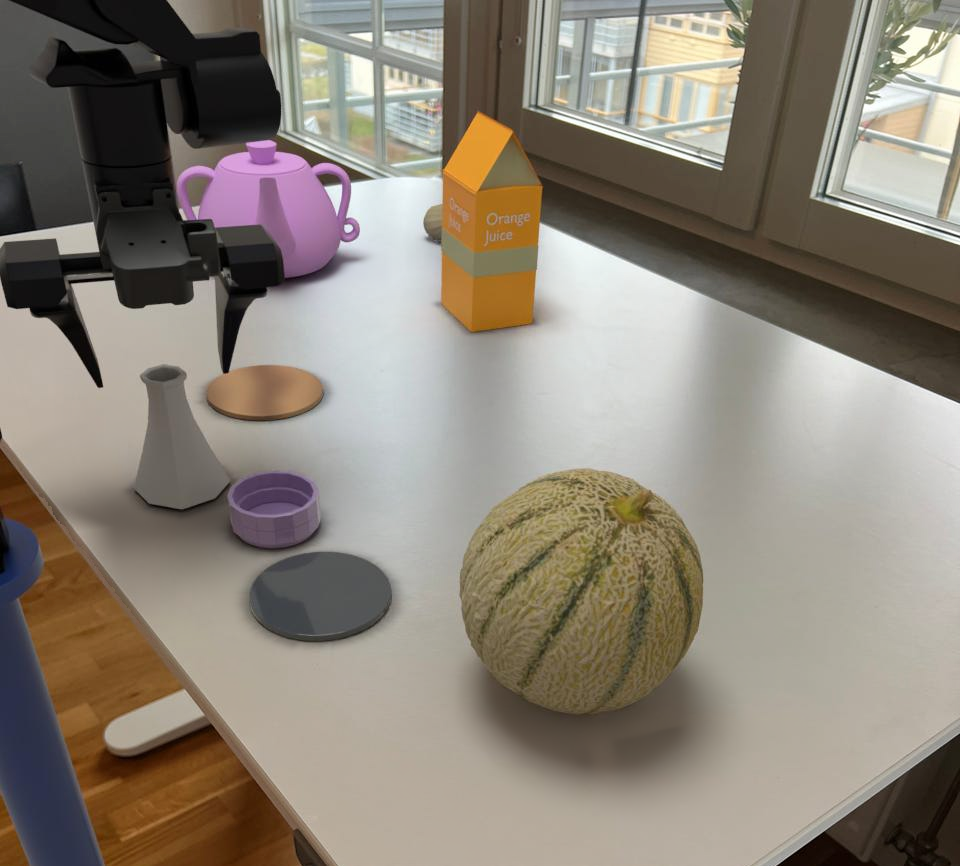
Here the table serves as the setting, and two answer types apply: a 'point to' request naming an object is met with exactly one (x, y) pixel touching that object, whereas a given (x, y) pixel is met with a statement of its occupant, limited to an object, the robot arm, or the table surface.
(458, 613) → the table surface
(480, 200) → the orange juice
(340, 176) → the teapot
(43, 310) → the robot arm
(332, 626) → the slate coaster
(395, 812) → the table surface
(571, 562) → the cantaloupe
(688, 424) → the table surface
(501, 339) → the table surface
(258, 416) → the cork coaster
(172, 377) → the flask
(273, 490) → the dish
